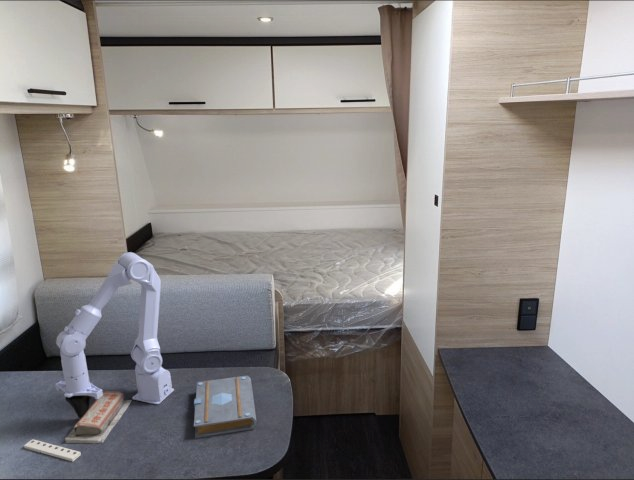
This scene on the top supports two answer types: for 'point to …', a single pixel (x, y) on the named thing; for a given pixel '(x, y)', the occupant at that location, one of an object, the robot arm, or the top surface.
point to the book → (224, 406)
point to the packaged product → (99, 419)
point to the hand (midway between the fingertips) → (83, 416)
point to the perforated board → (52, 450)
